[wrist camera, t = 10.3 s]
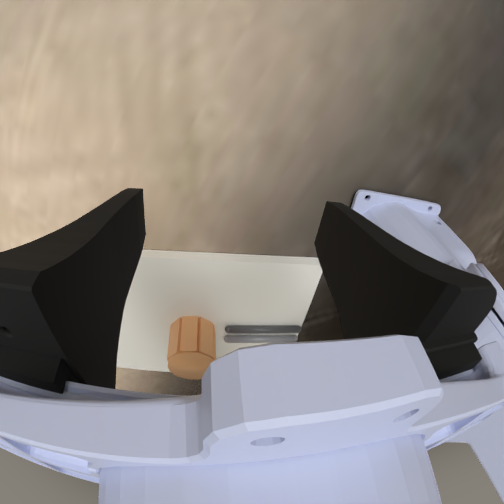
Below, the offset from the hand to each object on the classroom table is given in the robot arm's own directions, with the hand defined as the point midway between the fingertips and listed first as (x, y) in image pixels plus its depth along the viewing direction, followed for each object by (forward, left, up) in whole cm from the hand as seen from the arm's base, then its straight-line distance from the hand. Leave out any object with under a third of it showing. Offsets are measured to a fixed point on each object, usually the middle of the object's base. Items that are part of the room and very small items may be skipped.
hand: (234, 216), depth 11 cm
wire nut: (+2, +18, -8) cm, 20 cm away
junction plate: (+2, +18, -9) cm, 20 cm away
